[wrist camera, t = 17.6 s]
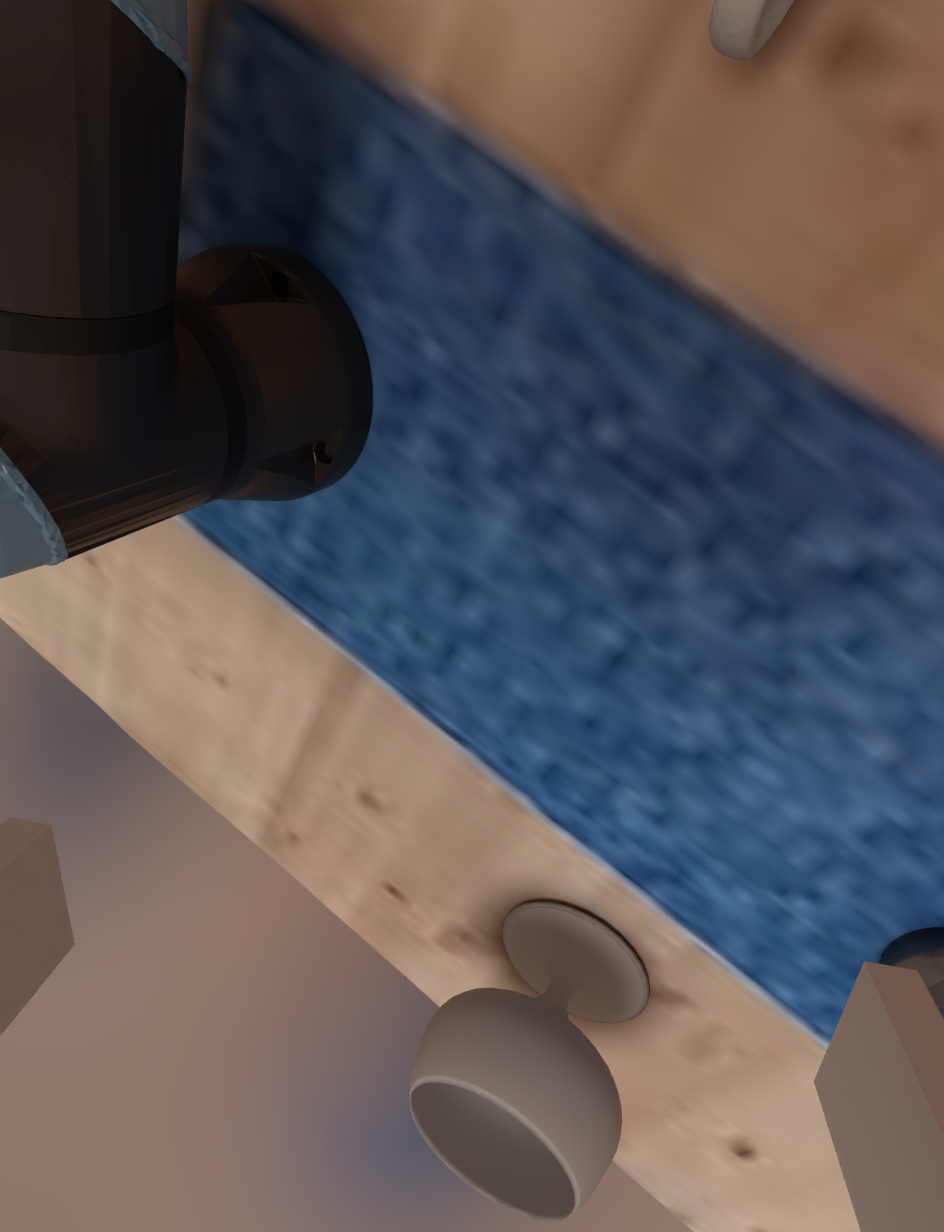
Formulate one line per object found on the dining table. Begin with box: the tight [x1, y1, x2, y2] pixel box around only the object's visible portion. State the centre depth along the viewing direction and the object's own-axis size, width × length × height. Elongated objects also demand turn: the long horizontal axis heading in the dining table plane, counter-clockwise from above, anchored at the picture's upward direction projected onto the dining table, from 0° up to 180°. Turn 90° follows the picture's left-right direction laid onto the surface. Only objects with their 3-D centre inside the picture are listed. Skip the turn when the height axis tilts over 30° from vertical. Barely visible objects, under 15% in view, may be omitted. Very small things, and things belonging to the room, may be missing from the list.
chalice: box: [409, 901, 650, 1221], centre depth 49 cm, size 14×14×15 cm
